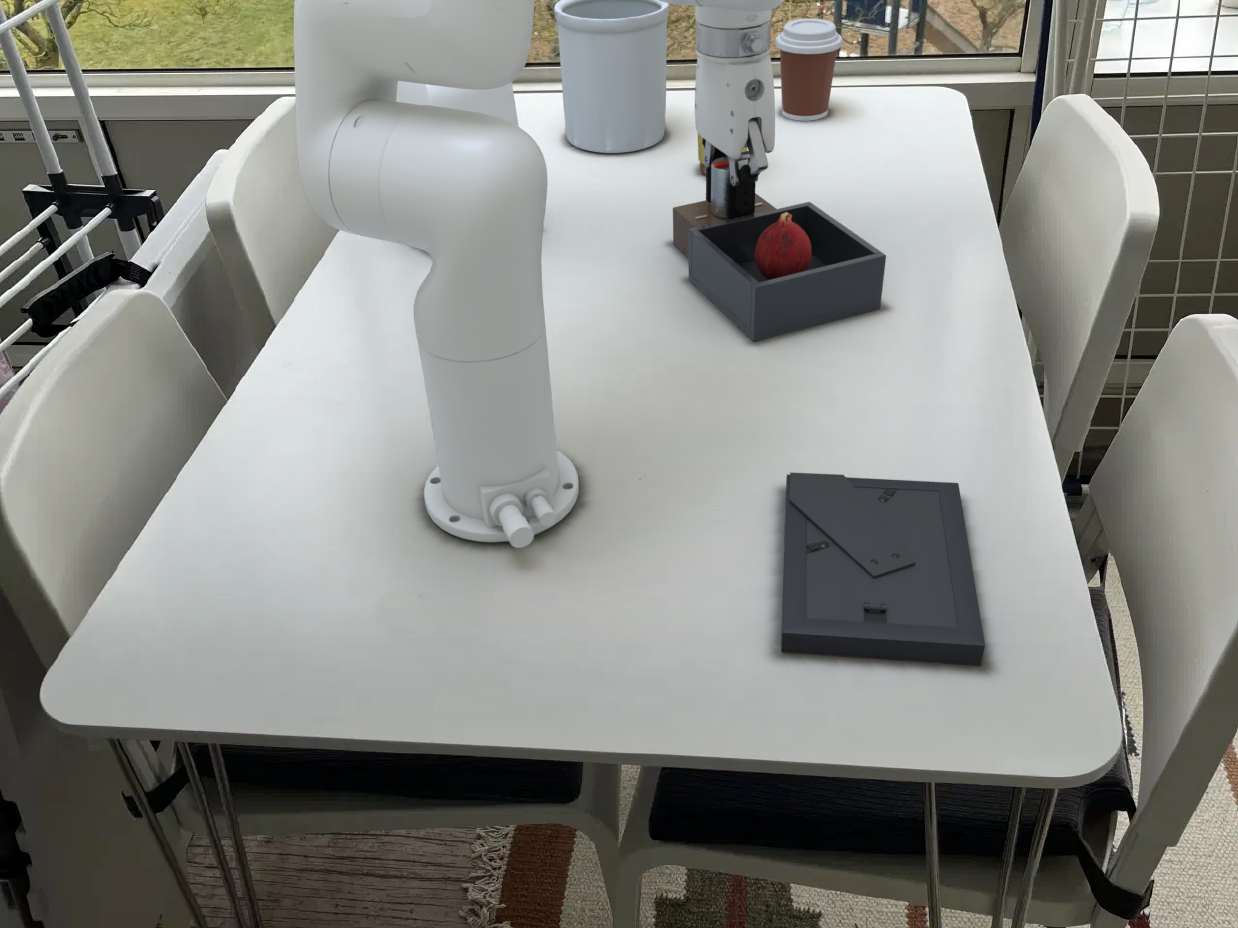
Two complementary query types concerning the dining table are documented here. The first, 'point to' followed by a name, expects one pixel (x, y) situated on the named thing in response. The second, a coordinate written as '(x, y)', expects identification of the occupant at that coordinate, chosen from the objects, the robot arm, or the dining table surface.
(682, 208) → the block
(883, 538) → the picture frame
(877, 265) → the dark grey open box
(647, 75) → the utensil holder
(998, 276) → the dining table surface
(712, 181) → the metal rotary knob
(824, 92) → the coffee cup
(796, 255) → the red round fruit
